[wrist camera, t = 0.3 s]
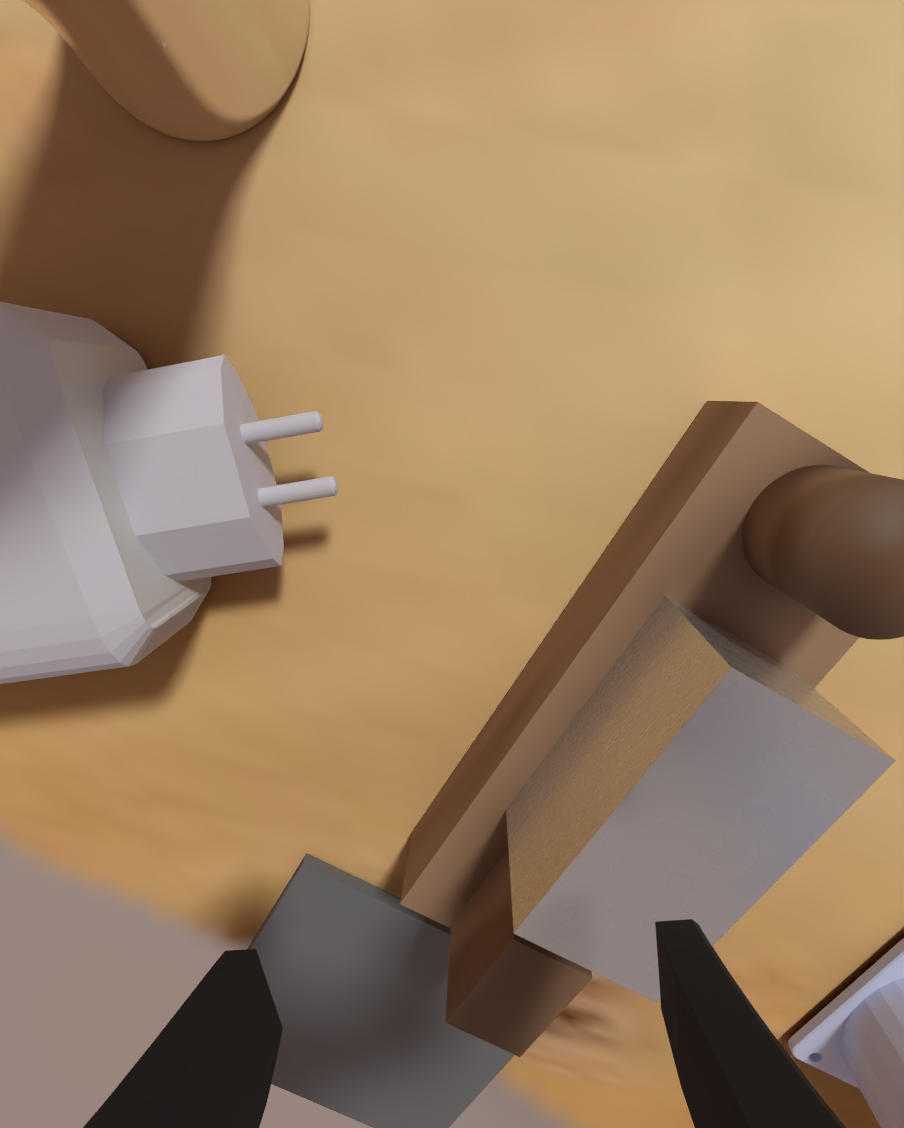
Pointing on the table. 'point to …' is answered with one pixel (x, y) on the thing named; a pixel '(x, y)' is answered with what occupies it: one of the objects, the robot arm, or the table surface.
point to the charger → (123, 493)
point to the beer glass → (187, 57)
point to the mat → (367, 1005)
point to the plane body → (606, 627)
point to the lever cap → (677, 797)
